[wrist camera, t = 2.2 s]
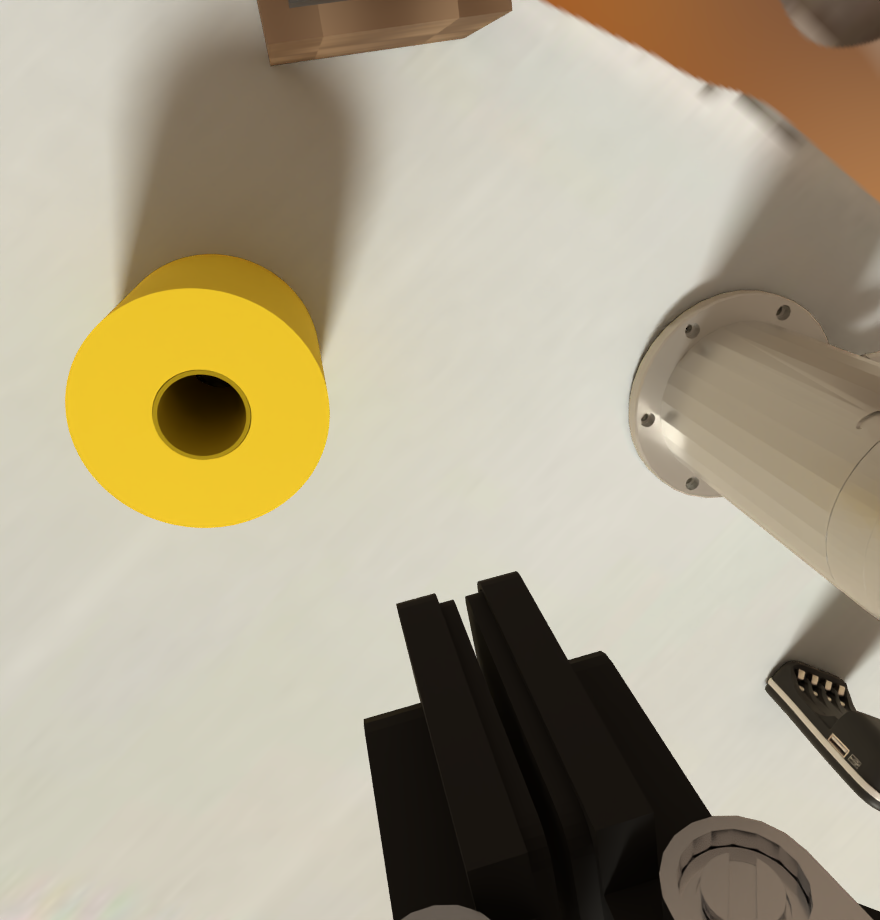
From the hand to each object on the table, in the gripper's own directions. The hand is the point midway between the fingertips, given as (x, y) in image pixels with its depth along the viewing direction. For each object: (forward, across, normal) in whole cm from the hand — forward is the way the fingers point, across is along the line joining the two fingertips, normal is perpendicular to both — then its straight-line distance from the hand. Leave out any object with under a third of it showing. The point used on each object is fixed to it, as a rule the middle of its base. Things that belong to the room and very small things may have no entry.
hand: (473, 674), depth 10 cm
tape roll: (+31, +6, +2) cm, 32 cm away
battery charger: (+30, -28, +36) cm, 54 cm away
